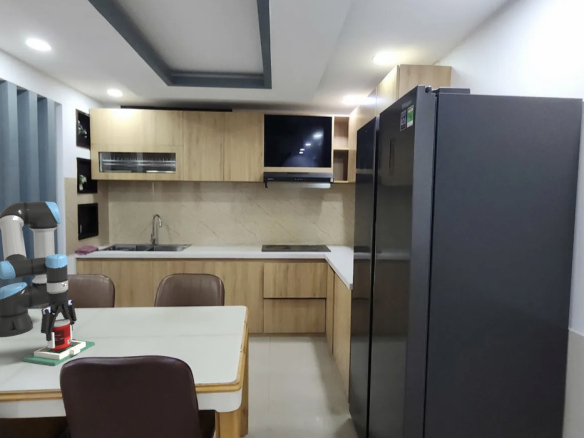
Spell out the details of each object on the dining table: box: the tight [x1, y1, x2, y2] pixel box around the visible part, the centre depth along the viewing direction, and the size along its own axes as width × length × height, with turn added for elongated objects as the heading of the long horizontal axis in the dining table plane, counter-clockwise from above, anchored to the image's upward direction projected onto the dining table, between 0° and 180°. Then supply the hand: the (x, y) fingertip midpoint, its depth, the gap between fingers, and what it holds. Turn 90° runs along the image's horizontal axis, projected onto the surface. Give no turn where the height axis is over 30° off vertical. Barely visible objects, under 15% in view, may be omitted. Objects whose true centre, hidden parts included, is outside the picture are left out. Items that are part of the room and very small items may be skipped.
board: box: [23, 338, 96, 367], centre depth 149 cm, size 18×20×3 cm
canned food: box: [50, 318, 71, 351], centre depth 147 cm, size 8×8×11 cm
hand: (60, 343), depth 148 cm, fingers closed on canned food, 8 cm apart
